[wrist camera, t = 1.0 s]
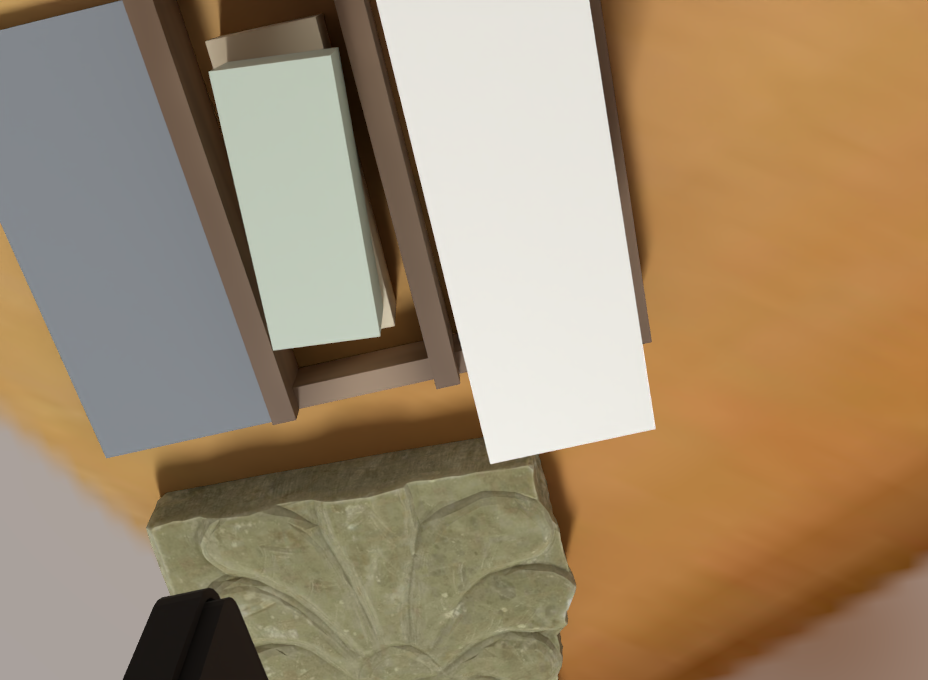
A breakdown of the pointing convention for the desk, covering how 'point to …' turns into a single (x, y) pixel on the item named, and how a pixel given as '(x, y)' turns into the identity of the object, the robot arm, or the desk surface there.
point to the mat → (115, 237)
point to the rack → (441, 350)
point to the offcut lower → (293, 40)
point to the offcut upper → (300, 196)
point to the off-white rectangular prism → (524, 215)
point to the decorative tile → (382, 565)
